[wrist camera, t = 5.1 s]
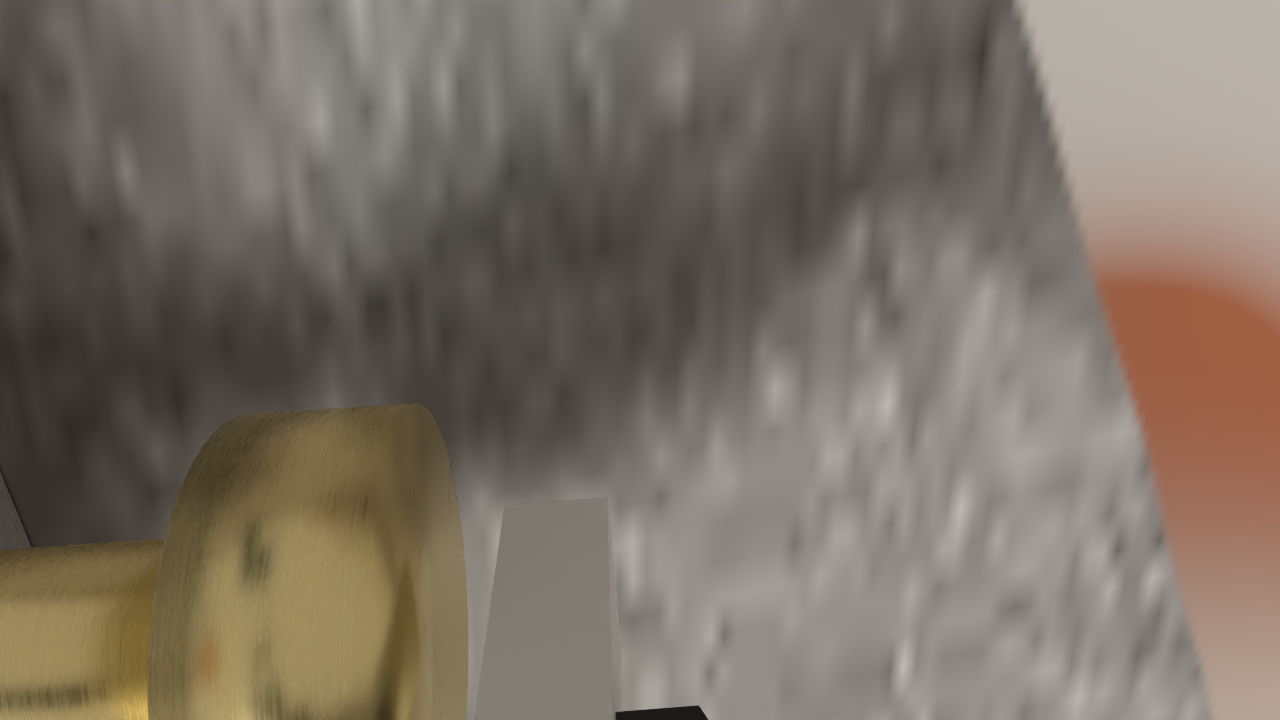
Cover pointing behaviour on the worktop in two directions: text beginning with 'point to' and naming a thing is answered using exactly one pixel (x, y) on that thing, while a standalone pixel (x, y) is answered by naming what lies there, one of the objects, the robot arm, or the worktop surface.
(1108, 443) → the worktop surface
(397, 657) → the pin
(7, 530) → the block
